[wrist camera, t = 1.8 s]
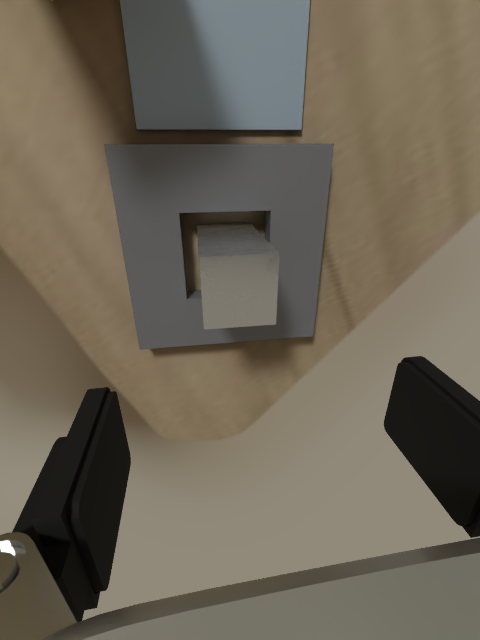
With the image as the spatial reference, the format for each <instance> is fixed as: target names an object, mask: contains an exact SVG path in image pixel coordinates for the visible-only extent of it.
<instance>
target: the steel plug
mask: <svg viewBox="0 0 480 640" xmlns="http://www.w3.org/2000/svg"><path fill="white" fill-rule="evenodd" d="M197 237H198V252H199V267H200V282H201V296H202V310H203V324H204V329H218V328H233V327H247V326H261V325H275V324H276V316H277V294H278V273H279V252H278V251H277V250H276V249H275V248H274V247H273V246H272V245H271V244H270V243H269V242H268V241H267V240H266V239H265V238H264V237H263V236H262V235H261V234H260V233H259V231H258V230H257V229H256V228H255V227H254V226H253V225H252V224H251V223H240V224H209V225H197Z"/></svg>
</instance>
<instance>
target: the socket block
mask: <svg viewBox="0 0 480 640" xmlns="http://www.w3.org/2000/svg"><path fill="white" fill-rule="evenodd" d="M104 145H105V151H106V156H107V162H108V168H109V174H110V180H111V185H112V191H113V197H114V203H115V209H116V214H117V220H118V226H119V232H120V238H121V243H122V249H123V255H124V261H125V267H126V272H127V278H128V284H129V290H130V296H131V301H132V307H133V313H134V319H135V325H136V330H137V336H138V342H139V348H140V349H153V348H166V347H179V346H193V345H206V344H219V343H232V342H245V341H258V340H272V339H285V338H298V337H311V336H313V335H314V325H315V316H316V307H317V297H318V288H319V278H320V269H321V260H322V250H323V241H324V232H325V222H326V213H327V203H328V194H329V185H330V175H331V166H332V157H333V147H334V144H104ZM233 211H266V213H265V239H266V240H267V241H268V242H269V243H270V244H271V245H272V246H273V247H274V248H275V249H276V250H277V251H278V252H279V273H278V294H277V316H276V324H275V325H261V326H247V327H233V328H218V329H204V324H203V310H202V296H201V290H199V291H187V285H186V273H185V262H184V250H183V239H182V228H181V216H180V213H197V212H233Z"/></svg>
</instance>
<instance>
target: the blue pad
mask: <svg viewBox="0 0 480 640" xmlns="http://www.w3.org/2000/svg"><path fill="white" fill-rule="evenodd" d="M120 6H121V14H122V21H123V29H124V36H125V44H126V52H127V59H128V67H129V75H130V82H131V90H132V98H133V105H134V113H135V121H136V128H137V130H302V115H303V100H304V84H305V69H306V54H307V39H308V24H309V9H310V0H120Z"/></svg>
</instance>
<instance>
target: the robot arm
mask: <svg viewBox="0 0 480 640" xmlns="http://www.w3.org/2000/svg"><path fill="white" fill-rule="evenodd" d="M384 427H385V430H386V432H387V434H388V435H389V436H390V438H391V439H392V440H393V441H394V443H395V444H396V446H397V447H398V448H399V449H400V451H401V452H402V453H403V455H404V456H405V457H406V459H407V460H408V461H409V463H410V464H411V465H412V466H413V468H414V469H415V470H416V472H417V473H418V474H419V476H420V477H421V478H422V479H423V481H424V482H425V483H426V485H427V486H428V487H429V489H430V490H431V491H432V493H433V494H434V495H435V497H436V498H437V499H438V501H439V502H440V503H441V504H442V506H443V507H444V508H445V510H446V511H447V512H448V513H449V515H450V516H451V518H452V519H453V520H454V521H455V522H456V523H457V524H458V525H460V526H462V527H463V528H464V529H465V531H466V532H467V533H468V534H469V536H470V537H471V538H472V537H477V536H480V401H479V400H478V399H476V398H475V397H474V396H472V395H471V394H470V393H468V392H467V391H466V390H465V389H464V388H462V387H461V386H460V385H459V384H457V383H456V382H455V381H453V380H452V379H451V378H450V377H448V376H447V375H446V374H445V373H443V372H442V371H441V370H440V369H438V368H437V367H436V366H435V365H433V364H432V363H431V362H430V361H428V360H427V359H426V358H424V357H421V356H417V357H407V358H404V359H403V360H402V361H401V363H399V364H398V366H397V370H396V374H395V378H394V382H393V386H392V391H391V395H390V399H389V403H388V408H387V411H386V416H385V420H384ZM130 459H131V458H130V451H129V447H128V442H127V438H126V433H125V428H124V424H123V419H122V415H121V410H120V406H119V401H118V397H117V393H116V392H115V391H114V392H110V389H109V388H108V387H106V388H95V389H89V390H87V392H86V394H85V396H84V399H83V401H82V403H81V406H80V408H79V410H78V412H77V415H76V417H75V419H74V421H73V424H72V426H71V428H70V431H69V433H68V435H67V437H60V438H58V439H57V440H56V442H55V443H54V445H53V447H52V449H51V451H50V453H49V456H48V458H47V460H46V462H45V464H44V466H43V468H42V470H41V472H40V475H39V477H38V479H37V481H36V483H35V485H34V487H33V489H32V491H31V494H30V496H29V498H28V500H27V502H26V504H25V506H24V508H23V510H22V513H21V515H20V517H19V519H18V521H17V523H16V525H15V528H14V529H13V532H12V533H5V534H3V535H0V640H480V538H476V539H470V540H465V541H459V542H454V543H448V544H443V545H437V546H432V547H426V548H421V549H416V550H410V551H405V552H399V553H394V554H389V555H384V556H379V557H373V558H368V559H362V560H357V561H352V562H346V563H341V564H336V565H330V566H325V567H320V568H314V569H309V570H304V571H299V572H294V573H289V574H283V575H278V576H274V577H268V578H263V579H258V580H253V581H247V582H242V583H237V584H232V585H227V586H222V587H216V588H212V589H206V590H202V591H197V592H192V593H188V594H183V595H179V596H174V597H169V598H164V599H160V600H155V601H150V602H146V603H141V604H137V605H133V606H129V607H125V608H122V609H118V610H115V611H111V612H107V613H103V614H100V615H97V616H94V617H92V618H89V619H86V620H83V621H82V618H83V614H84V610H88V609H93V608H97V605H98V600H99V595H100V591H105V590H106V589H107V588H108V584H109V580H110V575H111V569H112V563H113V558H114V553H115V547H116V542H117V536H118V530H119V525H120V520H121V514H122V509H123V503H124V498H125V492H126V487H127V481H128V476H129V470H130V463H131V461H130Z"/></svg>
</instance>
